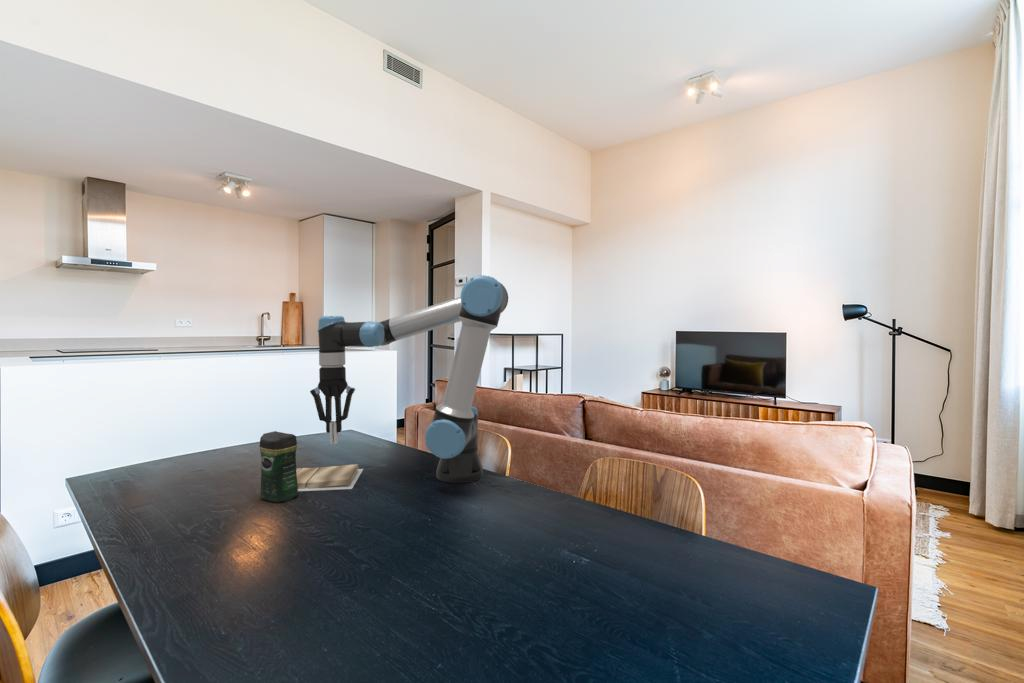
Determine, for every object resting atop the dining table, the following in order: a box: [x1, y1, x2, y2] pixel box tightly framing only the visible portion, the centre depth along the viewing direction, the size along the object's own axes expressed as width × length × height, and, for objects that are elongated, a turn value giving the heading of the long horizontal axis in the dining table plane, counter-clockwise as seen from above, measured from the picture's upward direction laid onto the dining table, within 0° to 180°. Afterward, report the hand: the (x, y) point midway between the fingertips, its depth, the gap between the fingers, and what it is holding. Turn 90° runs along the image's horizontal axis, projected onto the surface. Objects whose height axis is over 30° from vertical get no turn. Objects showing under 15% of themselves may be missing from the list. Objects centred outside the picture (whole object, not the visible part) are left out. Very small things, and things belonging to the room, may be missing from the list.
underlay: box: [298, 468, 364, 492], centre depth 147 cm, size 25×20×1 cm
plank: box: [307, 463, 359, 488], centre depth 147 cm, size 12×16×2 cm
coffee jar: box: [259, 430, 299, 503], centre depth 131 cm, size 10×8×19 cm
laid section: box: [296, 467, 320, 489], centre depth 145 cm, size 11×16×2 cm
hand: (334, 442), depth 143 cm, fingers closed
